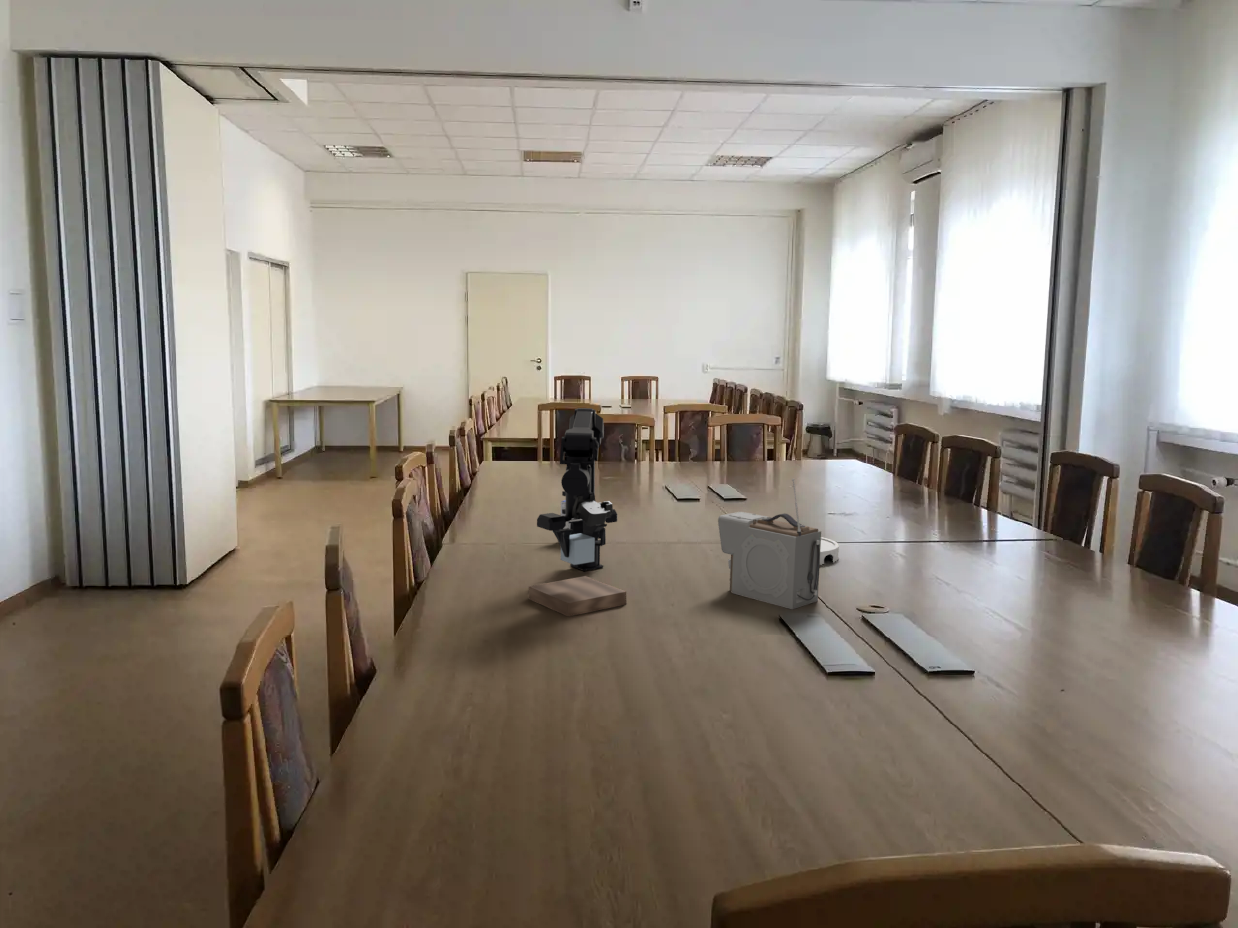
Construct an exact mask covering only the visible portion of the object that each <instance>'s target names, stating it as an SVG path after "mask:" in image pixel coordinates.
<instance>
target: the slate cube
mask: <svg viewBox="0 0 1238 928" xmlns="http://www.w3.org/2000/svg"><path fill="white" fill-rule="evenodd" d="M594 550H595V538H594V537H591V536H587V535H584V534H581V533H579V534H573V535H570V552H569V557H568V558H567V557H565V556H564V553H563V551H562V549H561V548H560V561H564V562H566V563H569V564H573V565H577V564H583V563H588V562H594Z"/></svg>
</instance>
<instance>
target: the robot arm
mask: <svg viewBox="0 0 1238 928" xmlns="http://www.w3.org/2000/svg"><path fill="white" fill-rule="evenodd" d="M604 425H605V422H604V418H603V417H602V416H601V415H600V414H597V411H596V409H593V408H586V407H577V408H575V409H574V414H572V415H571V416H570V417H569V429H566V430H565V433H564V436H561V443H560V452H559V453H560V456H559V465H566V467H565V472H564V474H563V475H562V478H561V482H560V483H561V487H562V489H563V491H562V492H561V496H562V497H565V499H564V500H565V509H562V514H565V516H561V514H557V513H554V512H549V513H548V512H547V513H540V514H539V515H538V517H537V518H536V527H537V528H540V529H544V530H547V531H551V532H553V533H554V536H555V538H556V540H557V541H558V545H559V546H560V550H561V549H562V551H563V553H564V556H565V557H567V558H568V557H569V552H570V535H573V534H579V533H581V534H584V535H587V536H591V537H594V538H595V550H594V562H588V563H583V564H577V565H573V564H571V563H569V565H570V567H572V568H575V569H578V570H581V571H584V572H585V571H591V570H595V569H601V568H604V565H603V564H601V547H603V546H606V542H607V541H606V540H607V539H606V537H607V536H606V527H607V526H608V524H610V523H617V522H618V512H617V511H616V509H613V503H612V502H611V501H610V500H606V501H602V502H601V501H600V502H597V501H596V495H595V493H596V491H595V490H596V488H595V487H596V482H595V481H596V480H595V479H596V462H597V461H598V460H599V457H598V456H599V448H600V447H601V443H602V439H604V436H605V435H604V434H605V431H604V430H605V426H604ZM569 523H571V525H570V529H569Z"/></svg>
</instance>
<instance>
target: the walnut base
mask: <svg viewBox="0 0 1238 928" xmlns="http://www.w3.org/2000/svg"><path fill="white" fill-rule="evenodd" d="M528 600H530V601H532V602H535V603H537V604H540V605H542V606H544V607H546V608H548V609H551V610H552V611H555V612H557V613H559V614H561V615H564V616H566V617H573V616H578V615H581V614H585V613H591V612H597V611H600V610H605V609H611V608H615V607H620V606H624V605H627V591H626V590H623V589H620V588H619V587H616V586H613V585H611V584H607V583H604V582H601V581H600V580H597V579H593V578H592V577H588V576H586V575H584V576H577V577H571V578H568V579H567V578H566V579H562V580H557V581H551V582H545V583H539V584H534V585H529V586H528Z"/></svg>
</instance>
